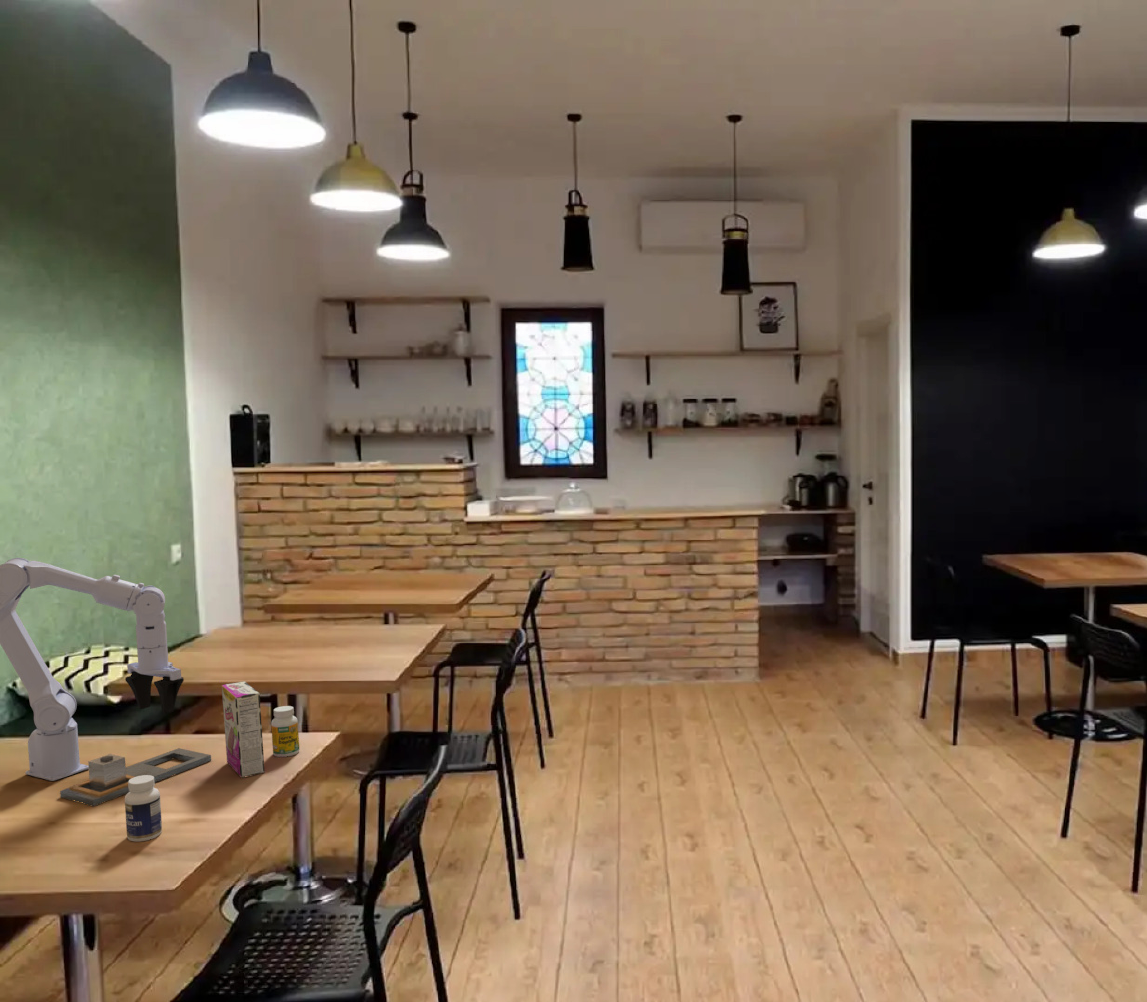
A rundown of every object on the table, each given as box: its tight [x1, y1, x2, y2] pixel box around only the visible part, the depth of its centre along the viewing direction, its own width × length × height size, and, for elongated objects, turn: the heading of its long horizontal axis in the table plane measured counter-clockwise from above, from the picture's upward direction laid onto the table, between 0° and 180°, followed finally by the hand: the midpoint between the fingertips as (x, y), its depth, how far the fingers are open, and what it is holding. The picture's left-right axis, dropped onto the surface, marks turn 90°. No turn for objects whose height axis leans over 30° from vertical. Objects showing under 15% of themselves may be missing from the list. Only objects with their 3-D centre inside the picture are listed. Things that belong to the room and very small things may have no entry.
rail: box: [59, 747, 212, 807], centre depth 185 cm, size 10×26×2 cm, turn 151°
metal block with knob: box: [87, 753, 127, 792], centre depth 179 cm, size 4×4×6 cm
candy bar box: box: [221, 680, 266, 778], centre depth 188 cm, size 11×5×16 cm, turn 34°
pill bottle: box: [124, 775, 163, 842], centre depth 157 cm, size 5×5×10 cm
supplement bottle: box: [270, 705, 300, 758], centre depth 196 cm, size 5×5×10 cm
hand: (156, 710), depth 195 cm, fingers open, 7 cm apart
